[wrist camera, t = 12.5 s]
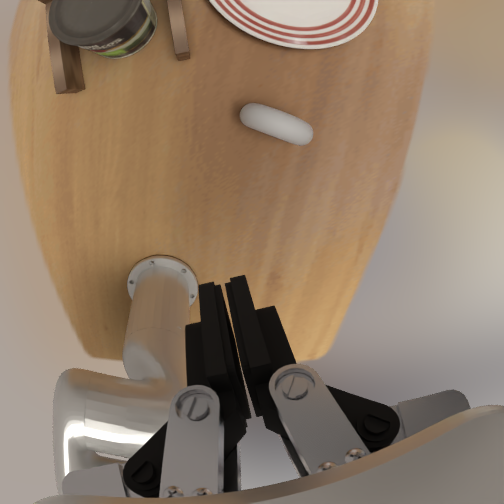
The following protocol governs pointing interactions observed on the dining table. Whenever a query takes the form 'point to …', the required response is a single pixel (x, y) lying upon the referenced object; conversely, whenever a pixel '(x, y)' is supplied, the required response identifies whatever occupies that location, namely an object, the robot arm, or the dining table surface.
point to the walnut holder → (68, 56)
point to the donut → (276, 123)
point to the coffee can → (104, 25)
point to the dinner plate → (300, 20)
